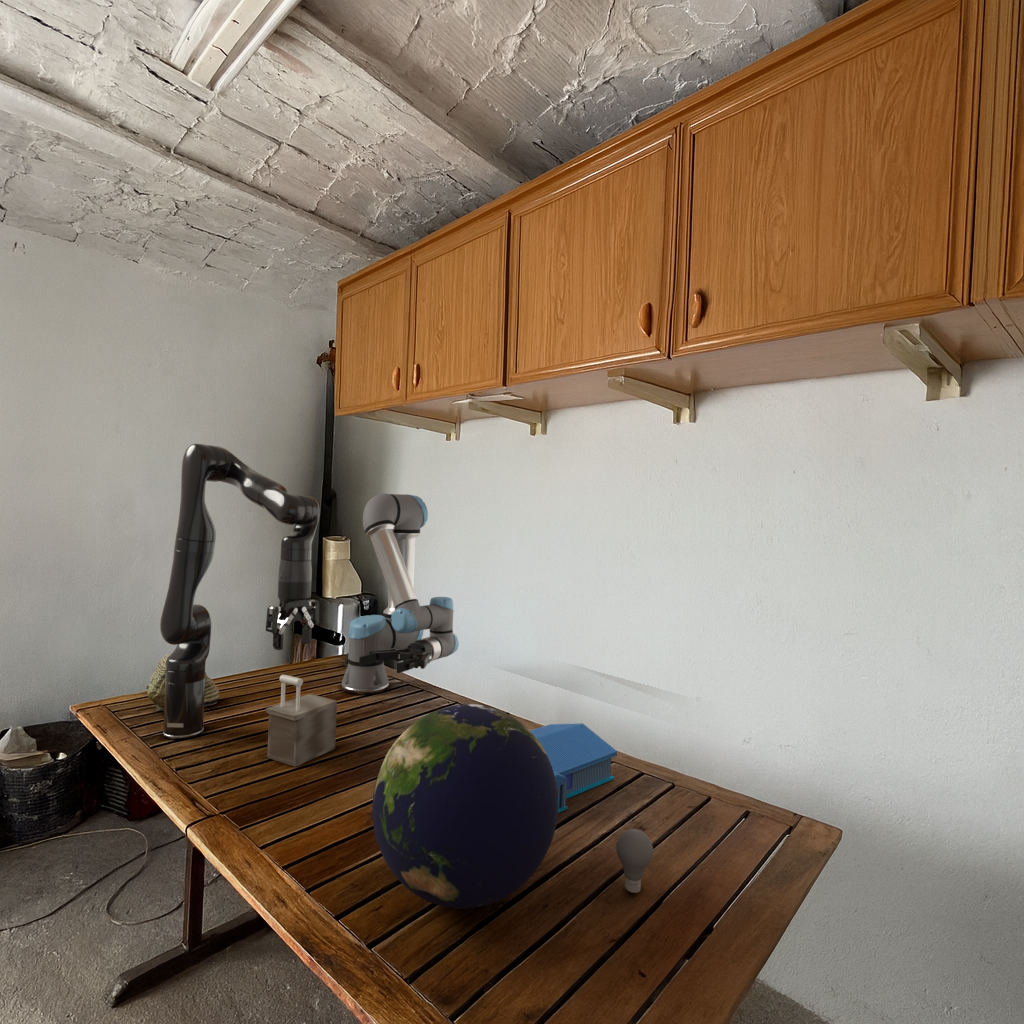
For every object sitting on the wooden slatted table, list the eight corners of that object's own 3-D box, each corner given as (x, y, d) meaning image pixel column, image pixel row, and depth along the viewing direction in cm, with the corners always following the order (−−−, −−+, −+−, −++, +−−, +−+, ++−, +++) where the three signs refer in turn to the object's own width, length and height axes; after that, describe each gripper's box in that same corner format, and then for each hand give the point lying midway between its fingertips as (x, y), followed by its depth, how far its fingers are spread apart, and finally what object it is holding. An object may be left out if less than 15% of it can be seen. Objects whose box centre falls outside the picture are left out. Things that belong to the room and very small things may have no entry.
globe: (328, 919, 95) (336, 721, 95) (427, 827, 123) (434, 674, 122) (512, 985, 84) (522, 760, 83) (576, 867, 112) (584, 698, 111)
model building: (497, 839, 120) (500, 786, 120) (424, 791, 138) (425, 745, 138) (625, 783, 146) (627, 740, 146) (549, 749, 164) (551, 711, 164)
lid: (294, 720, 147) (296, 682, 147) (266, 712, 151) (267, 676, 151) (337, 705, 159) (338, 670, 159) (309, 698, 163) (310, 664, 163)
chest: (295, 767, 148) (297, 720, 147) (267, 757, 152) (268, 712, 152) (335, 748, 159) (337, 705, 159) (307, 740, 164) (309, 698, 163)
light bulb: (610, 879, 108) (613, 822, 108) (644, 879, 109) (647, 822, 109) (619, 902, 102) (622, 840, 102) (655, 901, 103) (658, 840, 103)
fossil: (144, 707, 182) (145, 655, 182) (212, 696, 194) (213, 647, 194) (151, 716, 175) (153, 662, 175) (221, 703, 188) (223, 653, 188)
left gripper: (282, 583, 143) (280, 654, 143) (328, 577, 155) (325, 643, 156) (259, 579, 146) (257, 649, 147) (306, 574, 159) (303, 639, 159)
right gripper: (456, 668, 192) (414, 684, 173) (391, 658, 203) (344, 672, 185) (457, 643, 192) (414, 657, 173) (391, 634, 203) (345, 646, 185)
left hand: (292, 646), depth 151 cm, fingers open, 8 cm apart
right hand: (378, 665), depth 179 cm, fingers open, 13 cm apart
